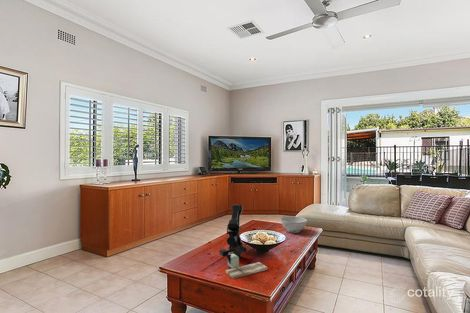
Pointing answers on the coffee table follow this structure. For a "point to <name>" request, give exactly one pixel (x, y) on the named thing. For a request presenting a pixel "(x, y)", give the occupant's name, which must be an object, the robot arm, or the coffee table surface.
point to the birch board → (246, 270)
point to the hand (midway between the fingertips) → (233, 263)
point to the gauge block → (234, 261)
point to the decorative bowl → (293, 223)
